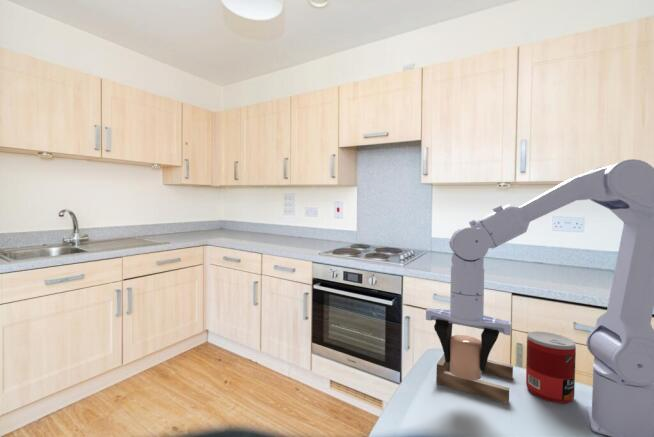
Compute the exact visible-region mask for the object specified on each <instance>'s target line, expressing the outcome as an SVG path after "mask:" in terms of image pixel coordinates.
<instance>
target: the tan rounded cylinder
mask: <svg viewBox="0 0 654 437" xmlns="http://www.w3.org/2000/svg"><path fill="white" fill-rule="evenodd" d="M481 356H482V343H481V339H478V338H477V337H473V336H471V335H464V334H463V335H462V334H457V335H452V336H451V337H450V372H451V373H452V374H453V375H455V376H457V377H459V378H462V379H467V380H477V379H478V380H481V378H482V373H483V372H482V371H481V367H480V365H481Z"/></svg>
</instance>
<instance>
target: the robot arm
mask: <svg viewBox="0 0 654 437" xmlns="http://www.w3.org/2000/svg"><path fill="white" fill-rule="evenodd" d="M588 200H589V201H592V202H593V203H595V204H598V205H600V206H602V207H604V208H607V209H608V210H610V211H611V212H612V213H613V214H614V215H615V216H616V217H617V218H618V219H619V220H620V221H621V222H623V228H622V230H621V231H622V233H621V236H620V243H619V248H618V251H617V256H616V262H615V267H614V272H613V278H612V283H611V288H610V293H609V298H608V303H607V309H606V311H605V313H603V314H602V315H600V316H599V317H598V318H597V319H596V322H595V326H594V328H593V329H592V330H591V331H590V332H589V333H588V335H587V337H586V346H587V350H588V351H589V353H590V354H591V355H592V356H593V361H594V362H593V365H592V396H591V398H592V399H591V400H592V401H591V406H590V405H587V406H585V407H586V408H585V409H586V412H587V416H588V420H589V424H590V427H591V431H593V432H595V433H597V434H602V435H604V436H608V437H654V328H653V326H652V323H651V322H652V318H653V313H654V167H653V166H652V165H651V164H649V163H648V162H646V161H644V160H641V159H633V158H632V159H626V160H621V161H620V162H617V163H614V164H611V165H606V166H604V167H602V166H601V167H596V168H593V169H591V170H590V171H587V172H585V173H584V172H583V173H582V174H578V175H575V176H574V177H571V178H569V179H567V180H565V181H562V182H560V183H559V184H557V185H556V186H554V187H552V188H550V189H548V190H547V191H544V192H543V193H542V194H540V195H538V196H535V197H534V198H533V199H531V200H528V201H527V202H525V203H523V204H521V205H520V206H516V205H512V204H506V205H504V206H502V205H497V206H495V207H493V209H492V210H493V212H491V213H489V214H487V215H485V216H483V217H481V218H480V219H478V220H475V219H472V220H471V221H469V222H468V224H469V225H470V226H469V227H461V228H458V229H457V230H455V231H454V232H453V233H452V235H451V237H450V240H449V242H448V243H449V248H450V249H451V251H452V256H451V263H452V264H451V267H450V299H449V302H450V304H449V309H441V308H431V307H428V308H427V309H426V310H425V320H426V321H430V322H431V321H435V323H434V325H433V327H434V328H433V329H434V331H435V333H436V335H437V337H438V339H439V342H440V344H441V348H442V351H443V354H444V356H445V362H448V363H449V362H450V337H451V336H453V335H452V334H453V325H458V326H463V327H468V328H469V327H470V328H474V329H479V330H482V332H481V333H480V334H481V335H480V341H481V343H482V356H481V365H480V367H481V371H485V370H486V365H487V360H489V359H488V358H489V357H490V353H491V351H492V350H493V347H494V346H495V343H496V342H497V340H498V337H499V335H500V333H501V334H503V335H506V336H511V335H512V321H509V320H504V319H501V318H500V319H499V318H496V317H492V316H488V315H484V306H485V305H484V304H485V303H484V302H485V298H484V297H485V295H484V294H485V293H484V292H485V267H484V260H485V259H484V258H485V256H486V255H487V253H488V252H489V249H492V250H493V249H496V248H497V247H499V246H501V245H503V244H505V243H508V242H510V241H512V240H513V239H515V238H517V237H520V236H521V235H524V234H526V233H527V231H528V230H529V229H528V228H529V225H530V223H531V222H532V221H535V220H537V219H539V218H542V217H543V216H546V215H548V214H549V213H552V212H555V211H556V210H558V209H561V208H563V207H565V206H567V205H570V204H571V203H575V201H588Z"/></svg>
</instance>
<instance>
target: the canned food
mask: <svg viewBox="0 0 654 437" xmlns="http://www.w3.org/2000/svg"><path fill="white" fill-rule="evenodd" d="M576 348H577V346H576V342H575V341H574V340H572V339H570V338H569V337H567V336H564V335H561V334H556V333H551V332H546V331H530V332H528V333H527V337H526V364H525V365H526V366H525V368H526V369H525V370H526V372H525V373H526V374H525V375H526V376H525V383H526V387H527V389H528V391H529V392H530V393H532V395H534V396H536V397H538V398H540V399H542V400H545V401H547V402H551V403H556V404H570V403H571V402H573V401H574V398H575V387H576V386H575V385H576V384H575V382H576V381H575V380H576V357H577V356H576V350H577V349H576Z"/></svg>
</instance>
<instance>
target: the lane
mask: <svg viewBox="0 0 654 437" xmlns="http://www.w3.org/2000/svg"><path fill="white" fill-rule="evenodd" d="M482 373H487V374H490V375H495V376H497V377H502V378H506V379H510V380H513V378H514V365H512V364H508V363H503V362H499V361H495V360H489V359H487V365H486V370H485V371H482ZM435 378H436V382H435V383H436V384H438V385H440V386H441V385H442V386H445V387H449V388H453V389H456V390H458V391H462V392H466V393H469V394H472V395H477V396H480V397H482V398H487V399H489V400H493V401H497V402H500V403H504V404H507V405H509V403H510V387H507V386H503V385H500V384H496V383H493V382H489V381H485V380H481V379H477V380H467V379H462V378H459V377H457V376H455V375H453V374H452V373H451V372H450V362H449V363H448V362H445V356H444V353H443V354H442V356H441V357H440V358H439V359H438V361H437V363H436V377H435Z"/></svg>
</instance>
